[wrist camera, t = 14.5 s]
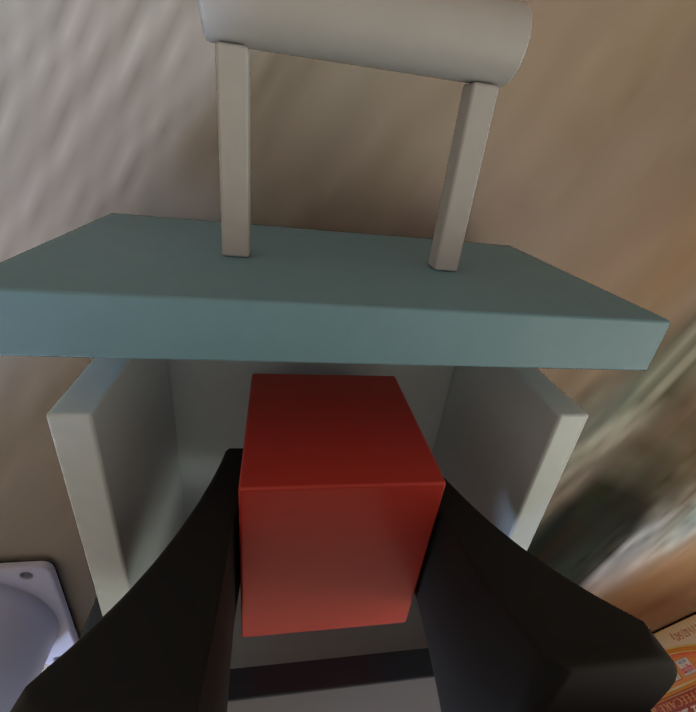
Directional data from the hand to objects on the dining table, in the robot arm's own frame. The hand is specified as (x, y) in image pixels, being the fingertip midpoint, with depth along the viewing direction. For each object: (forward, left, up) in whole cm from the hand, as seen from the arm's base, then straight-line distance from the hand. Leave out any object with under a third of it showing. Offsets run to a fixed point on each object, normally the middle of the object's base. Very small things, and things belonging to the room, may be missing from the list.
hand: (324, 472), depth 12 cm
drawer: (0, +2, -4) cm, 5 cm away
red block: (0, 0, -1) cm, 1 cm away
